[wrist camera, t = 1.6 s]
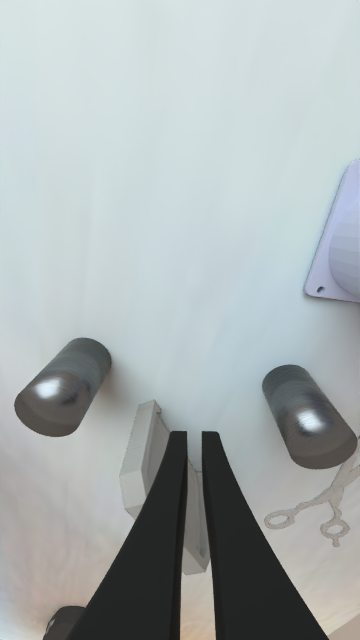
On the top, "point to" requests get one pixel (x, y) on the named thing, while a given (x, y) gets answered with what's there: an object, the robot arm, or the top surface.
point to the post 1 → (64, 389)
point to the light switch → (140, 476)
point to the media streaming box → (62, 623)
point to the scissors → (331, 494)
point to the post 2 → (307, 419)
